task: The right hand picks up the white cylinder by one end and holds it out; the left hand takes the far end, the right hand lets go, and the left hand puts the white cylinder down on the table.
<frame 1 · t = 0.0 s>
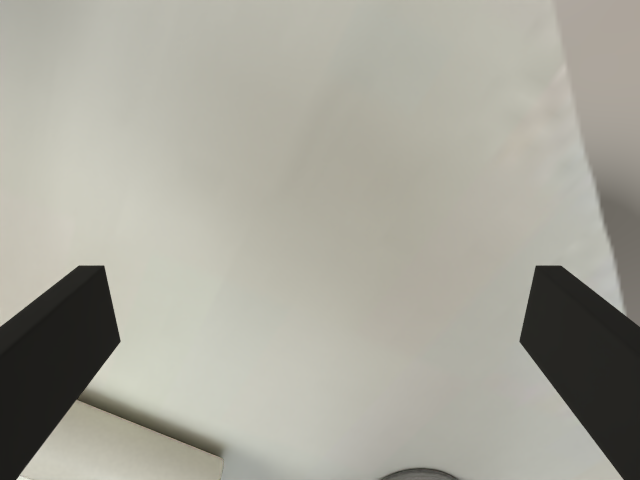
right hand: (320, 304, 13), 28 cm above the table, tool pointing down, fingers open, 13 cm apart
white cylinder: (120, 426, 51), on the table
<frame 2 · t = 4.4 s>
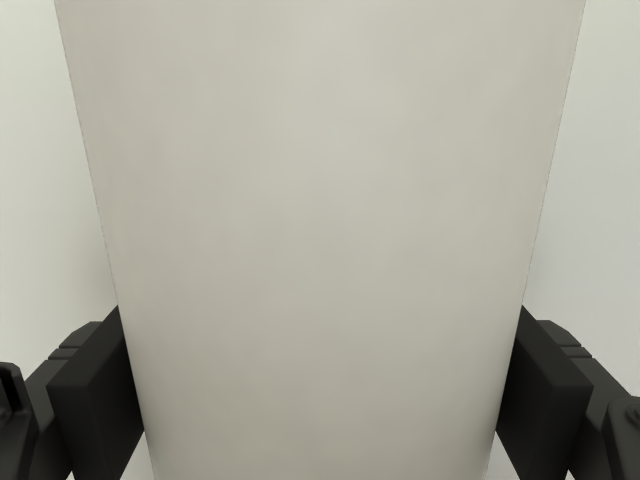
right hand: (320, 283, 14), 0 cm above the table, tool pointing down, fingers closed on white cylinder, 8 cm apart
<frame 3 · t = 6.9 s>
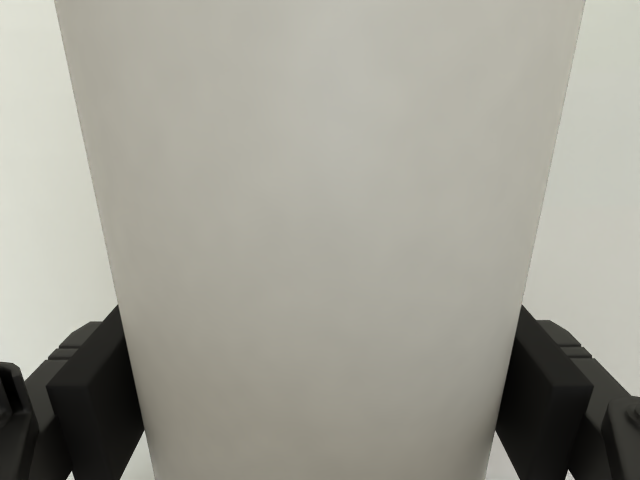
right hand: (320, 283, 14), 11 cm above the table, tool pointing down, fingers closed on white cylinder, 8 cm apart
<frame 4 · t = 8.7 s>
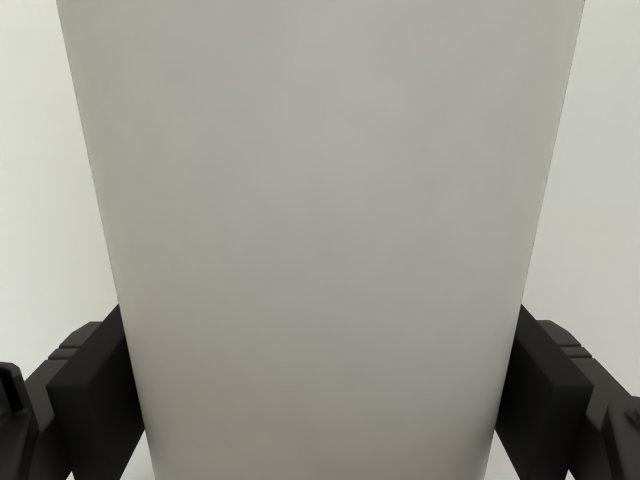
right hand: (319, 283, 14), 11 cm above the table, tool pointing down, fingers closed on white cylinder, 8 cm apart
when the right hand's fingers open (11 cm above the table, at t = 9.6 s): white cylinder stays where it is, held by the left hand.
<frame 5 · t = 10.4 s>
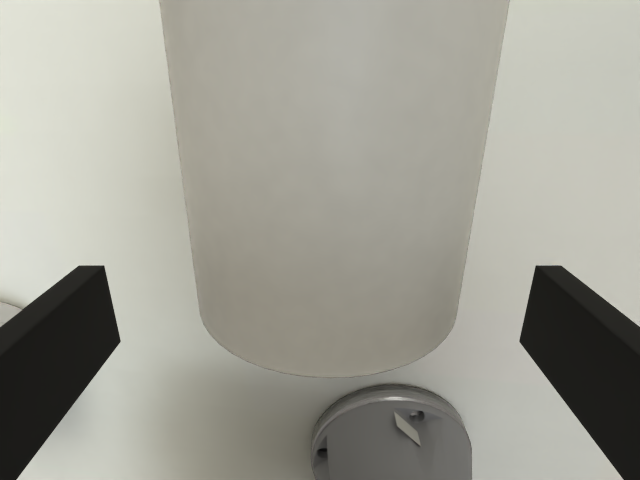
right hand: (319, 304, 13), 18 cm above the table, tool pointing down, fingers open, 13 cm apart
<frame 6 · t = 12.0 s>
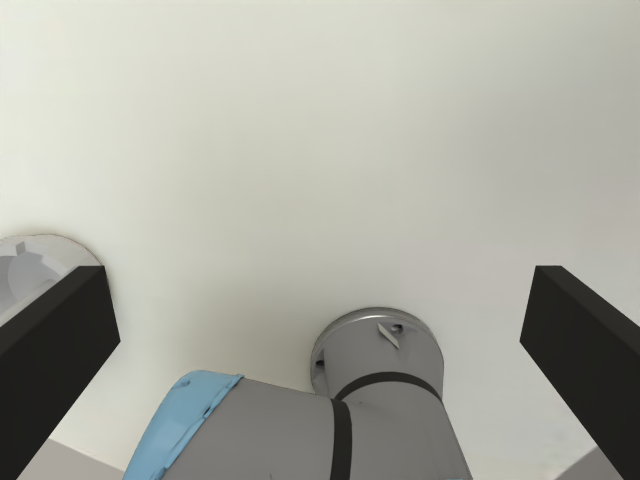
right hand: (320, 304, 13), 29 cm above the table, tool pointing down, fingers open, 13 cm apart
flag stand: (58, 280, 45), on the table
when the left hand's fingers open (2 cm above the table, at t = 15.3 s): white cylinder drops 2 cm, on the table.
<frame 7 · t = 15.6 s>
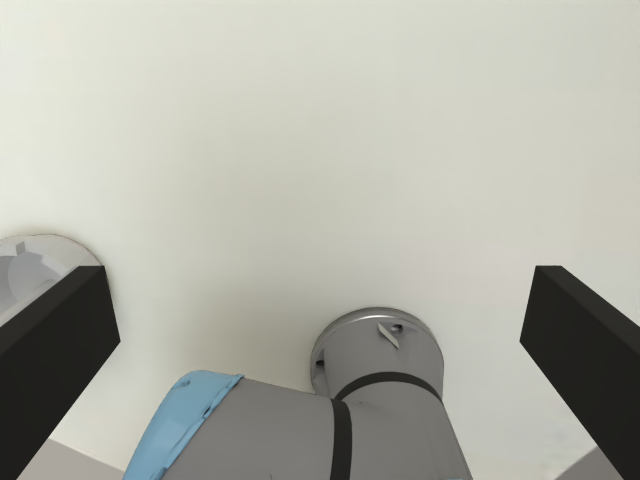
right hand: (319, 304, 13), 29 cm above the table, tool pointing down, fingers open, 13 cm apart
flag stand: (58, 280, 45), on the table
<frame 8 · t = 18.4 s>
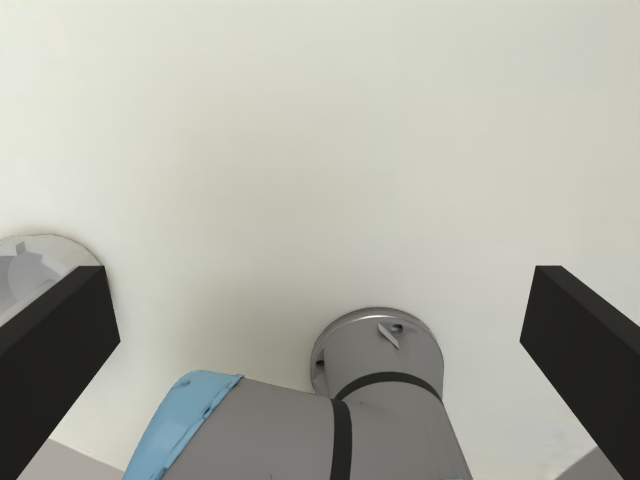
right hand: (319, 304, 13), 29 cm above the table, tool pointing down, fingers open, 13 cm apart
flag stand: (58, 280, 45), on the table
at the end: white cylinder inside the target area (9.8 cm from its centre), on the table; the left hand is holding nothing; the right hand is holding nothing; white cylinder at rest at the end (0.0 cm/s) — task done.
